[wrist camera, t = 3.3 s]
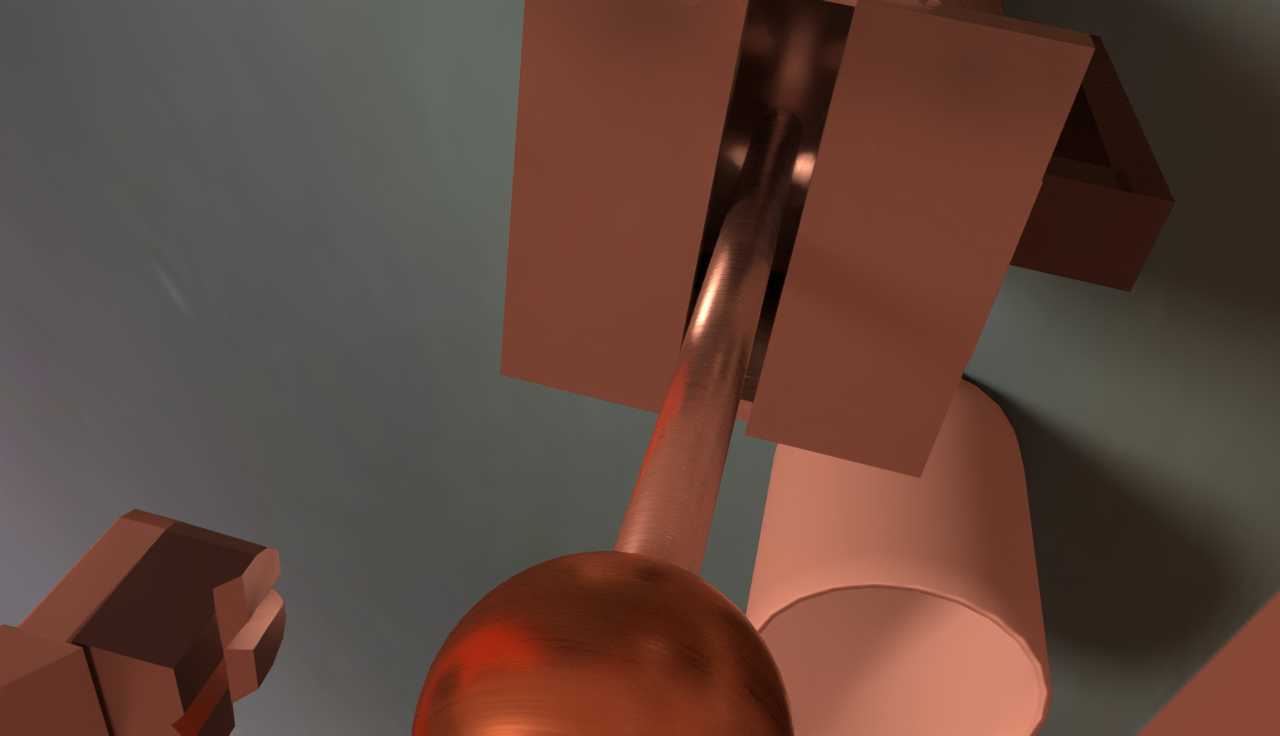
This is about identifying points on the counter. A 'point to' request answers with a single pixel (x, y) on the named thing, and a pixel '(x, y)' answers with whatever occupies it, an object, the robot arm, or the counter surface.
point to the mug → (906, 587)
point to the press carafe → (814, 207)
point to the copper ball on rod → (667, 474)
